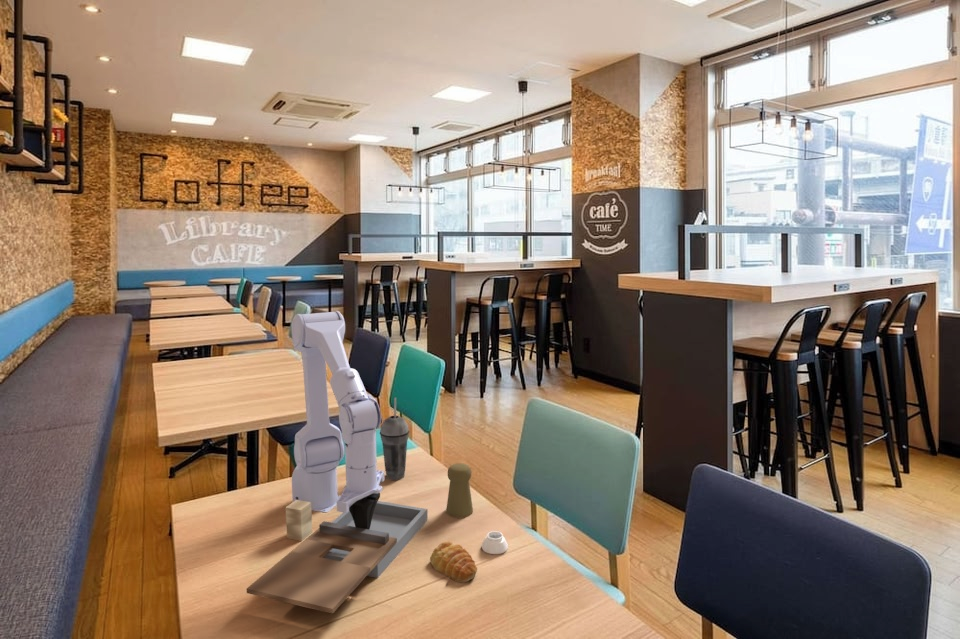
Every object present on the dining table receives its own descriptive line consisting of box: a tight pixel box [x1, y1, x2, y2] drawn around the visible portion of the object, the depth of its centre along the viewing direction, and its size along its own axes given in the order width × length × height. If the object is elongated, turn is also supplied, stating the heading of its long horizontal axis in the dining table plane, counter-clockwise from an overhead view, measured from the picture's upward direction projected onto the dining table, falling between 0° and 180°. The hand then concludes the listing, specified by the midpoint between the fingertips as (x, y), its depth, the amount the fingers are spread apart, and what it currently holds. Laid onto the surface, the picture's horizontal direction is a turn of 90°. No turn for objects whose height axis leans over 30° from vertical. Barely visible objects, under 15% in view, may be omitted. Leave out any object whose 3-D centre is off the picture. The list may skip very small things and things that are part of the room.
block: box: [285, 500, 313, 542], centre depth 119 cm, size 4×4×7 cm
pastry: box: [429, 541, 478, 583], centre depth 108 cm, size 9×7×4 cm
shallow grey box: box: [323, 500, 428, 579], centre depth 118 cm, size 16×22×3 cm
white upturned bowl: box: [481, 530, 509, 555], centre depth 116 cm, size 5×3×5 cm
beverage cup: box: [379, 397, 410, 481], centre depth 147 cm, size 7×7×20 cm
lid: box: [246, 520, 397, 614], centre depth 104 cm, size 16×22×2 cm
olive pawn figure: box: [445, 462, 474, 519], centre depth 129 cm, size 6×6×11 cm
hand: (363, 530), depth 114 cm, fingers closed
